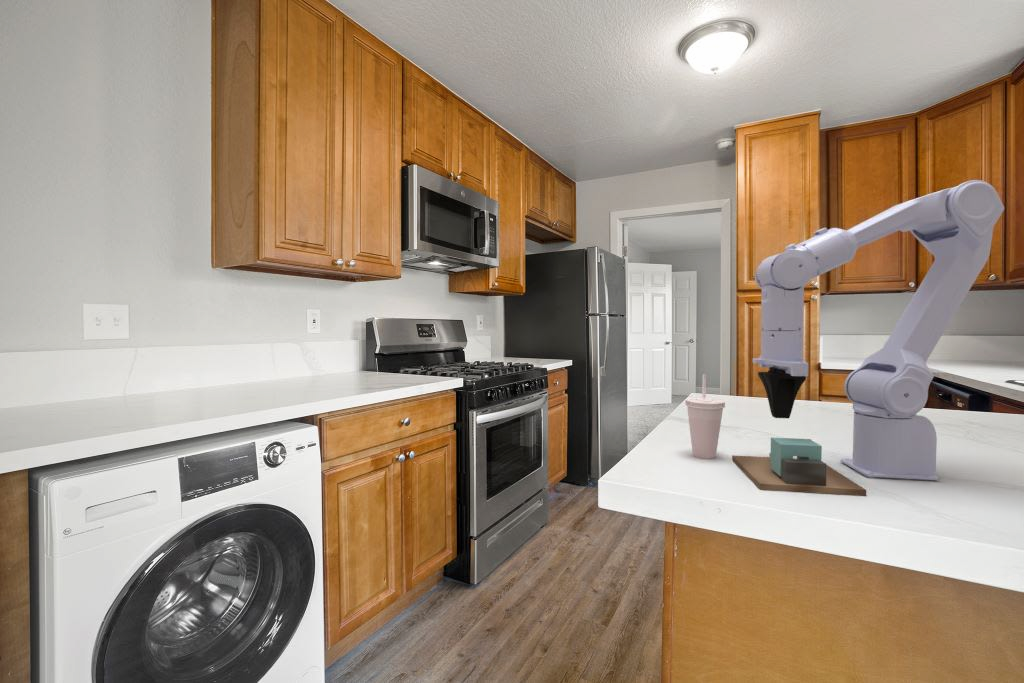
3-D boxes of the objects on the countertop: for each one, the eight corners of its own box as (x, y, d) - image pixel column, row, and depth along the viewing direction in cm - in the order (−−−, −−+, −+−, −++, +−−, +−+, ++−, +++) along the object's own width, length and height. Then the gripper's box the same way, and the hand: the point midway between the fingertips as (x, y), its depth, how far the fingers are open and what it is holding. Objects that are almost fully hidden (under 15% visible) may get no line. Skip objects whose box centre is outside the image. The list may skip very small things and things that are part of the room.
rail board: (818, 464, 75) (818, 441, 75) (866, 495, 62) (866, 467, 62) (732, 460, 78) (732, 437, 78) (759, 489, 64) (760, 462, 64)
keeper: (808, 469, 69) (809, 439, 69) (821, 478, 65) (821, 446, 65) (770, 467, 70) (770, 437, 70) (780, 476, 66) (780, 444, 66)
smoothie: (717, 451, 83) (718, 373, 83) (730, 461, 77) (731, 377, 77) (680, 450, 84) (681, 373, 84) (690, 460, 78) (691, 377, 77)
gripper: (740, 330, 80) (739, 408, 81) (770, 331, 66) (769, 426, 67) (785, 329, 79) (784, 409, 80) (825, 331, 65) (823, 428, 65)
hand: (780, 417), depth 73 cm, fingers closed
